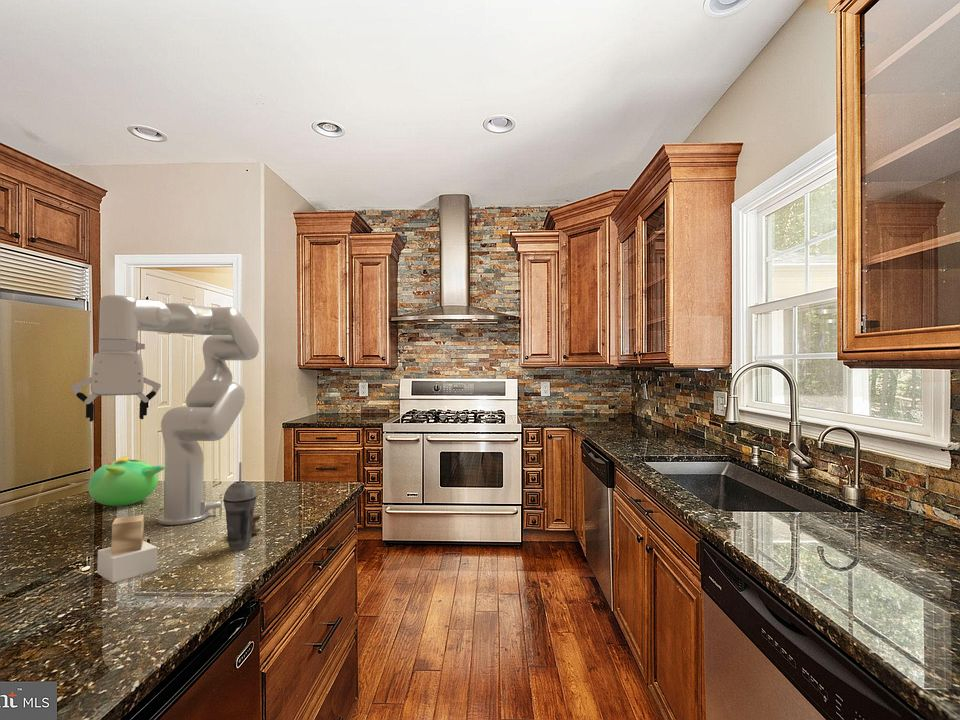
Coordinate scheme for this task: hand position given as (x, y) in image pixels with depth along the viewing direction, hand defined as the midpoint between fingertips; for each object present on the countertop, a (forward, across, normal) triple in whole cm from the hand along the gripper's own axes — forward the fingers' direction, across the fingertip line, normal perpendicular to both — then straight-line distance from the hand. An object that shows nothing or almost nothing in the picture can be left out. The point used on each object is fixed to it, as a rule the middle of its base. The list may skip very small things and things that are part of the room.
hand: (117, 419), depth 120 cm
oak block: (+26, -2, +18) cm, 31 cm away
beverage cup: (+31, -24, +16) cm, 42 cm away
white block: (+31, -2, +18) cm, 36 cm away
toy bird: (+31, -3, -46) cm, 55 cm away
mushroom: (+31, -27, +7) cm, 41 cm away
